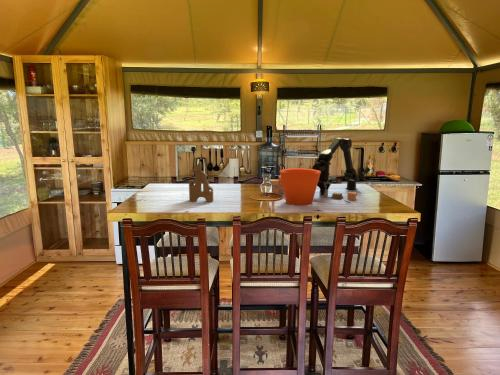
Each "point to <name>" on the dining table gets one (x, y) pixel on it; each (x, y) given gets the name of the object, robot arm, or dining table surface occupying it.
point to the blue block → (324, 193)
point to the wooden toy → (196, 189)
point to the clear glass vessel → (277, 186)
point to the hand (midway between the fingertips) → (323, 194)
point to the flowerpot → (299, 185)
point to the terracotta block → (352, 195)
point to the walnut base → (337, 195)
